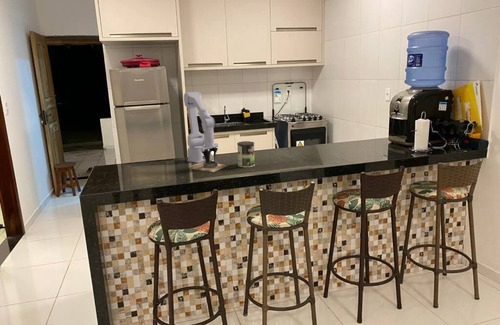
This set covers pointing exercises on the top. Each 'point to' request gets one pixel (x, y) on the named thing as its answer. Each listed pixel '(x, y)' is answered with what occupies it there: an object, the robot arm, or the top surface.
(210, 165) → the steel ring
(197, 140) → the robot arm
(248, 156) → the coffee can
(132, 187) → the top surface
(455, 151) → the top surface
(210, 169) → the birch board
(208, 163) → the aluminium piston
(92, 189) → the top surface
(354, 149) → the top surface
